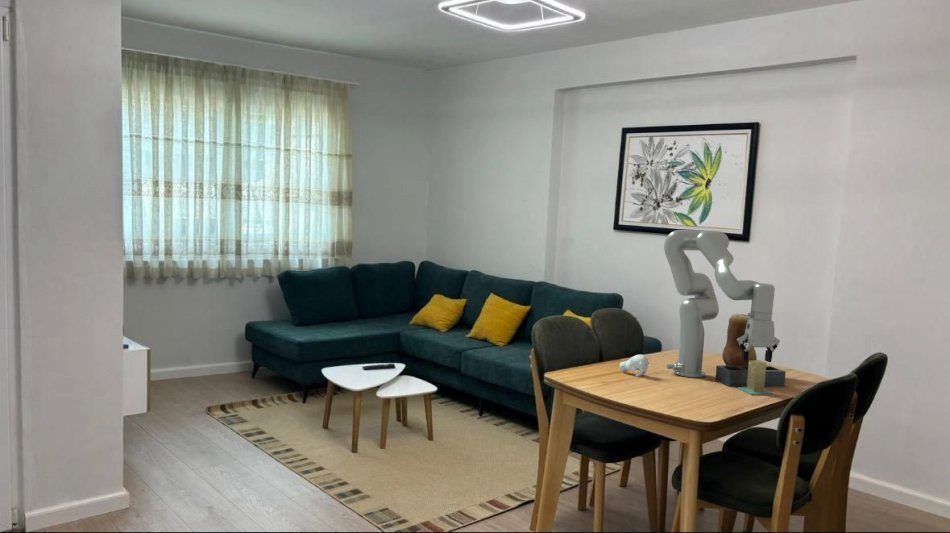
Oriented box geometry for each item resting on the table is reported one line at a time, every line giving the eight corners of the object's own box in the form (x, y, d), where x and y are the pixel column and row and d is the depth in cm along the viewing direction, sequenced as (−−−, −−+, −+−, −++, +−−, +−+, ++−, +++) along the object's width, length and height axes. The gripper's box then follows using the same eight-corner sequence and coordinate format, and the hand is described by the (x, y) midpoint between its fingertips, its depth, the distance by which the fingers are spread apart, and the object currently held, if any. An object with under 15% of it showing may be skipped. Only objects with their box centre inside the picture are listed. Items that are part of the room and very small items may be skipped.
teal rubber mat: (751, 395, 266) (751, 393, 266) (737, 388, 275) (737, 387, 275) (773, 394, 268) (773, 393, 268) (758, 388, 277) (758, 387, 277)
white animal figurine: (643, 356, 285) (615, 354, 292) (643, 377, 285) (616, 375, 292) (650, 354, 290) (623, 352, 297) (650, 375, 290) (623, 372, 297)
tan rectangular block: (753, 391, 269) (755, 362, 268) (746, 388, 273) (748, 360, 273) (763, 391, 270) (766, 362, 269) (756, 388, 274) (759, 360, 274)
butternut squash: (762, 376, 301) (767, 316, 299) (736, 377, 296) (741, 316, 294) (738, 368, 313) (743, 311, 311) (713, 369, 308) (718, 311, 306)
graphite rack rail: (729, 386, 278) (730, 371, 278) (715, 380, 288) (716, 365, 288) (784, 386, 283) (785, 371, 283) (769, 380, 293) (770, 365, 293)
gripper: (745, 317, 264) (741, 363, 266) (787, 318, 268) (782, 364, 269) (734, 314, 271) (730, 358, 273) (775, 315, 275) (770, 359, 277)
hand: (756, 361), depth 271 cm, fingers open, 9 cm apart
